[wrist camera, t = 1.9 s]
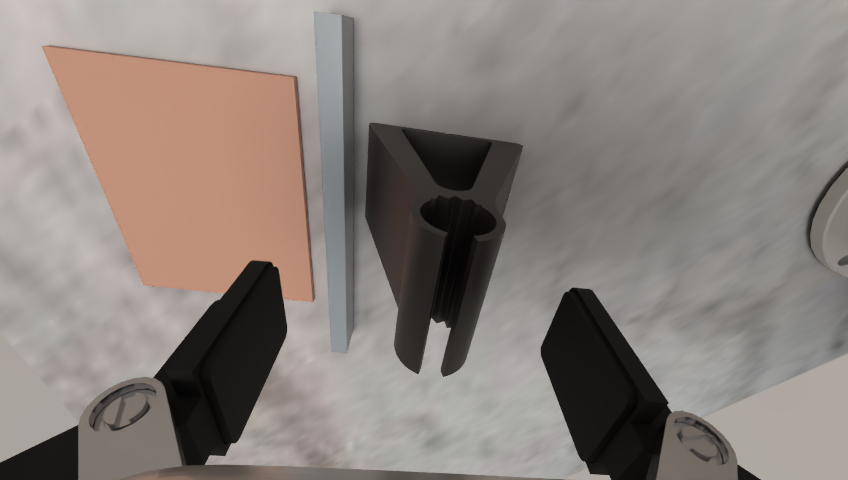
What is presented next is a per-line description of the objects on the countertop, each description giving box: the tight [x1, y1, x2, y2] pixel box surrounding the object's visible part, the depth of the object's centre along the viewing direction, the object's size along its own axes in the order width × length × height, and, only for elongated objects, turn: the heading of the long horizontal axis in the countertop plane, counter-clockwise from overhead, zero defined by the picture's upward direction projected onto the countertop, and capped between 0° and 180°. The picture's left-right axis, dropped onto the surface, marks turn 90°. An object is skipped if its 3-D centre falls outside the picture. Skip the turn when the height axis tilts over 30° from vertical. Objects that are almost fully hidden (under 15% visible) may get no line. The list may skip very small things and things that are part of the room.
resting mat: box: [42, 46, 314, 302], centre depth 22 cm, size 13×16×1 cm
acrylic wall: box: [314, 12, 353, 353], centre depth 21 cm, size 1×22×2 cm, turn 174°
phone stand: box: [365, 123, 523, 377], centre depth 16 cm, size 9×6×12 cm, turn 82°
